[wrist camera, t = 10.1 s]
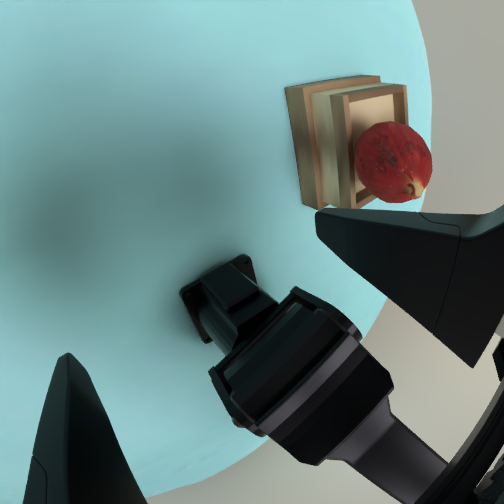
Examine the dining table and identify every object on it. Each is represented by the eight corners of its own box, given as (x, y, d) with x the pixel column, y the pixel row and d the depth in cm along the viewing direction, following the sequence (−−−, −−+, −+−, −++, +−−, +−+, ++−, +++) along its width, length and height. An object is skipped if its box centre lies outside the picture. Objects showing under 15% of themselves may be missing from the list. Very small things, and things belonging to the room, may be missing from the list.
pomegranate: (328, 138, 22) (356, 184, 16) (383, 96, 20) (433, 126, 13) (368, 187, 25) (401, 244, 19) (418, 150, 22) (466, 196, 16)
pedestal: (370, 168, 31) (410, 181, 27) (302, 203, 27) (346, 223, 23) (363, 75, 25) (408, 78, 21) (284, 87, 21) (335, 88, 17)
